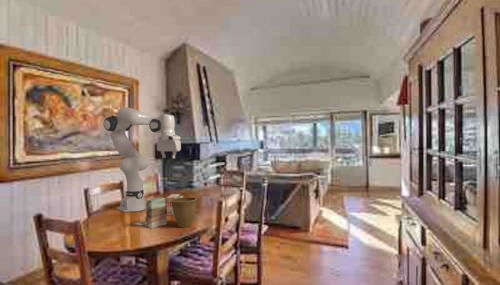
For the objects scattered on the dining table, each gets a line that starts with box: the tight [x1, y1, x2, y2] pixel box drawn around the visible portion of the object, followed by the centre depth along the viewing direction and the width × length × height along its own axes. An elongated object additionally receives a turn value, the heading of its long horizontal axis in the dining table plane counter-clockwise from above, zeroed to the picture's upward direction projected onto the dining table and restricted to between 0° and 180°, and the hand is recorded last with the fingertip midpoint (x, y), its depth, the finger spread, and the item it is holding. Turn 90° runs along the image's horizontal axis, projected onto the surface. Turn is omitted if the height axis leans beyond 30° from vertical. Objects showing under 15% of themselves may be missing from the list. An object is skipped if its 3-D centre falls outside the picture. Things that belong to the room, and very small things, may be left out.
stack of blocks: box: [165, 193, 184, 216], centre depth 229 cm, size 21×6×12 cm, turn 176°
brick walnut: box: [145, 205, 166, 218], centre depth 193 cm, size 5×10×5 cm, turn 145°
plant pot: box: [171, 196, 198, 228], centre depth 191 cm, size 15×15×16 cm
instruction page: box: [133, 220, 145, 226], centre depth 199 cm, size 7×9×1 cm
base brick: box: [144, 213, 168, 229], centre depth 193 cm, size 6×11×6 cm, turn 144°
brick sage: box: [145, 196, 166, 209], centre depth 193 cm, size 5×10×5 cm, turn 144°
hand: (168, 158), depth 213 cm, fingers open, 8 cm apart
